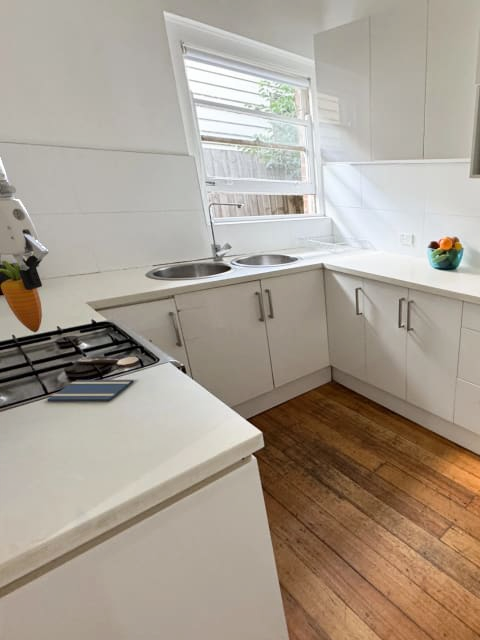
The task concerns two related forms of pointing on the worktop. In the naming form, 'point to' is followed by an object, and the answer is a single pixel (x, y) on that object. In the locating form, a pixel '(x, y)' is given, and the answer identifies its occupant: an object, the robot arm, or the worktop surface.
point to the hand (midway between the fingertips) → (18, 286)
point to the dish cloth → (91, 390)
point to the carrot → (21, 298)
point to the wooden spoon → (112, 361)
